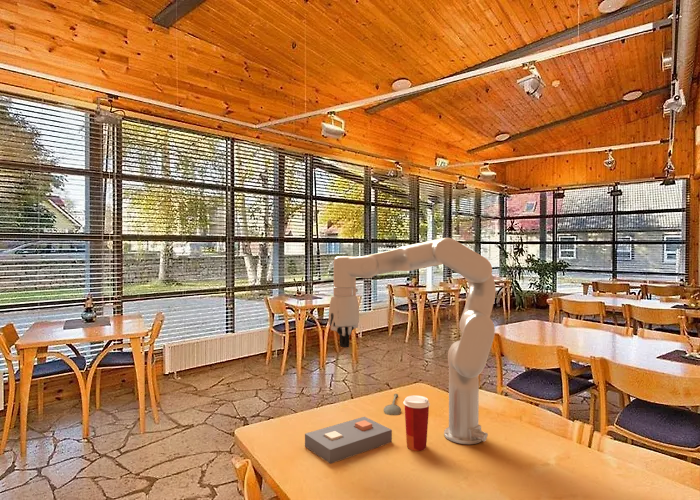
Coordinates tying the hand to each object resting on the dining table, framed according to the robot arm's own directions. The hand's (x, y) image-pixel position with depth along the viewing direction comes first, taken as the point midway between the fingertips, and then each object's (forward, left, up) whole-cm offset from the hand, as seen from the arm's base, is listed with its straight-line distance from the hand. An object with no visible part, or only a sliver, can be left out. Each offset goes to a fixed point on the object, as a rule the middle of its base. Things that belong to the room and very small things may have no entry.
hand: (344, 346), depth 148 cm
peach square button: (-8, -2, -28) cm, 29 cm away
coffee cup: (-22, -12, -29) cm, 39 cm away
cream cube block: (-8, +10, -29) cm, 31 cm away
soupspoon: (+10, -32, -30) cm, 45 cm away
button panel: (-8, +4, -29) cm, 30 cm away
